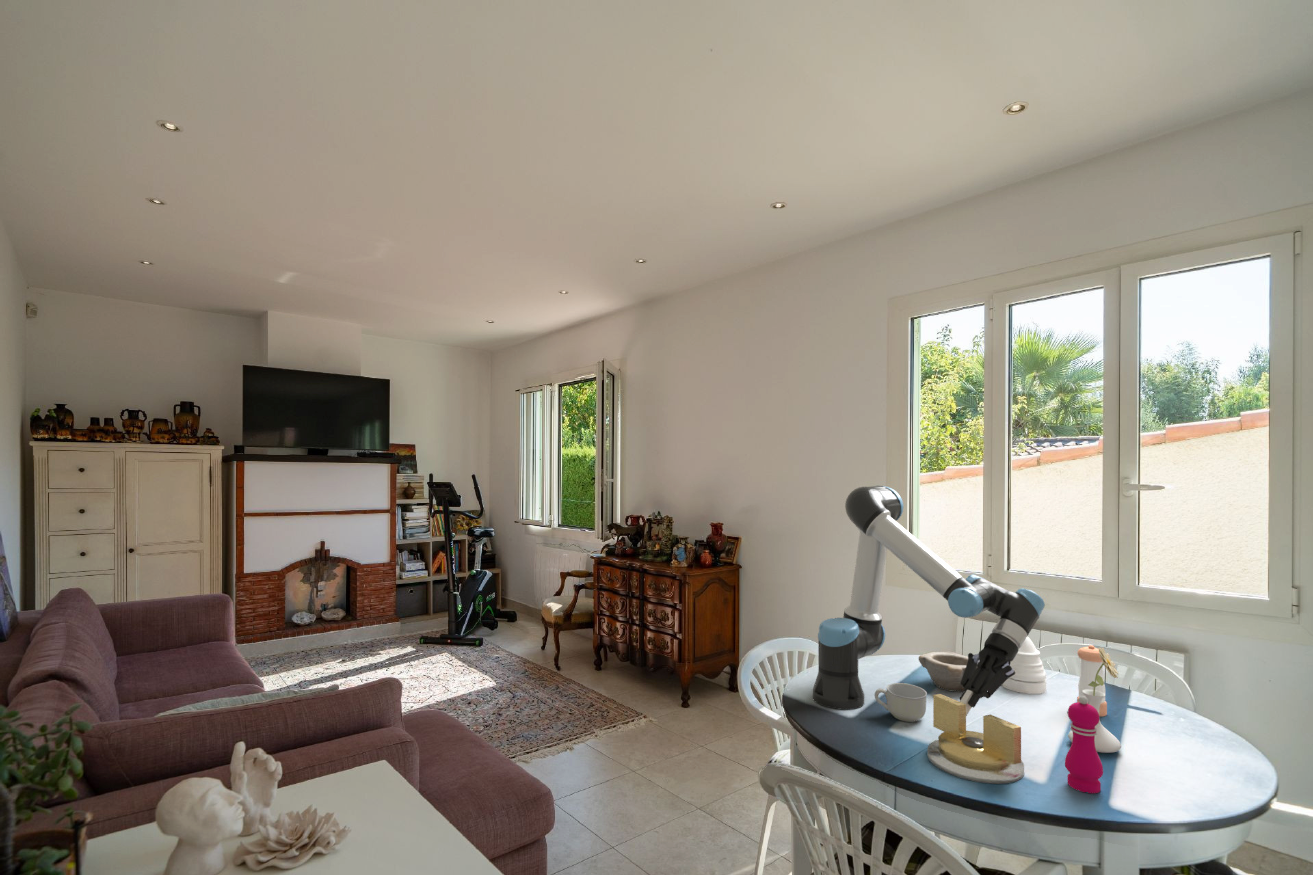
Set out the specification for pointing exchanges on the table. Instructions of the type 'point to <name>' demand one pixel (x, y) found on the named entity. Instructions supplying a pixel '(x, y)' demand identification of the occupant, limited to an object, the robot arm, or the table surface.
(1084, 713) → the pepper mill
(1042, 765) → the table surface
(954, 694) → the table surface
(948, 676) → the mortar
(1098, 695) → the flower in vase
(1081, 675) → the salt shaker
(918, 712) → the teacup
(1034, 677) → the honey pot
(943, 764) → the silver round plate
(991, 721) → the gold twin-plate stand
